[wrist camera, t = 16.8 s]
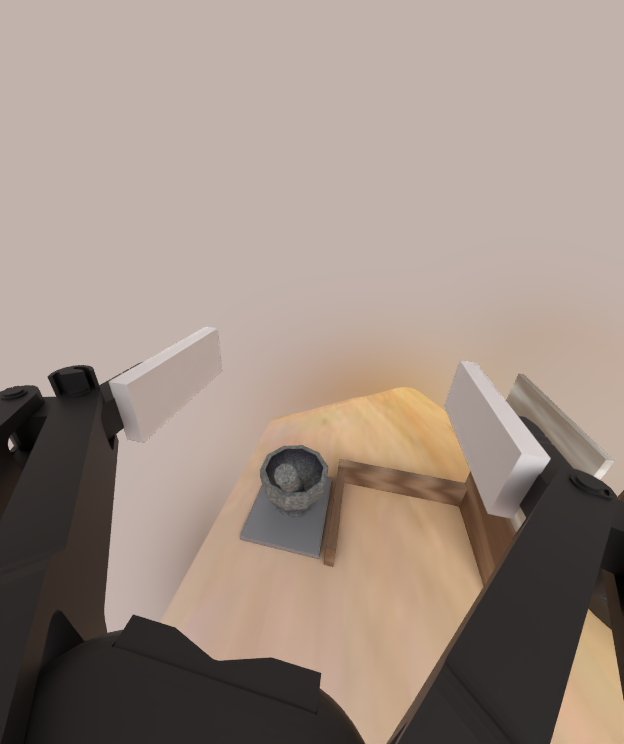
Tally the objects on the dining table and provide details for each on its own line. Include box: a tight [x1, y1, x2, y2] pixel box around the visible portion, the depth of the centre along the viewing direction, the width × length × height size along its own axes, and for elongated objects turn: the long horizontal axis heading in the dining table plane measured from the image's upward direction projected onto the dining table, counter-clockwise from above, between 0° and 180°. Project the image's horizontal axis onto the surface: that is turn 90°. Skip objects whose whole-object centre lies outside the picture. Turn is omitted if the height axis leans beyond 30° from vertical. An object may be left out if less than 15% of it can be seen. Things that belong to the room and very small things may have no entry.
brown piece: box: [324, 374, 615, 585], centre depth 35 cm, size 21×15×24 cm
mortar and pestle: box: [260, 445, 328, 518], centre depth 40 cm, size 11×9×12 cm
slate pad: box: [240, 477, 332, 559], centre depth 43 cm, size 11×13×1 cm
